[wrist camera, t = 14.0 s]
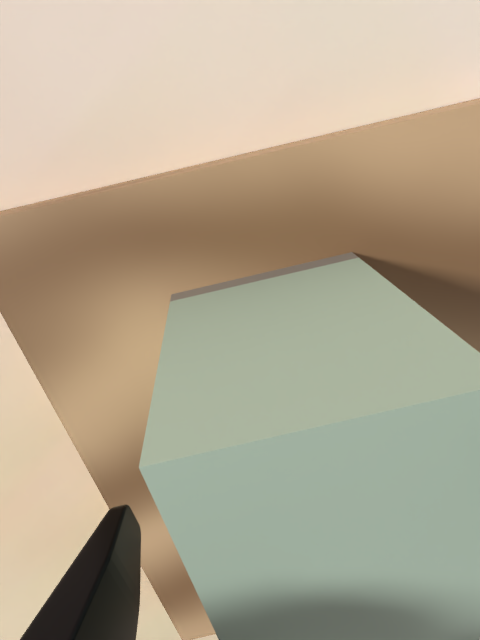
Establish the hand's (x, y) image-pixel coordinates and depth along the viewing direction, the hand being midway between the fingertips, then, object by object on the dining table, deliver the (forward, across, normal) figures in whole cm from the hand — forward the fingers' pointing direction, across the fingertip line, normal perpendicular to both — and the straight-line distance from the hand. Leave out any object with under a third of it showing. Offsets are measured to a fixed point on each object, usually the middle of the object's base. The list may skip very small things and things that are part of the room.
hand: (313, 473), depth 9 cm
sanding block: (+3, 0, 0) cm, 3 cm away
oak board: (+5, 0, +3) cm, 6 cm away
